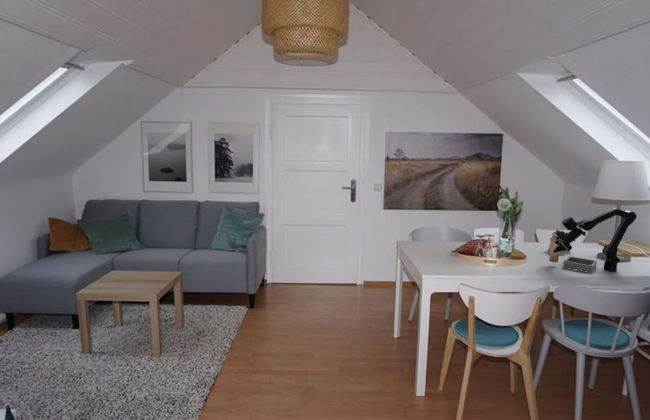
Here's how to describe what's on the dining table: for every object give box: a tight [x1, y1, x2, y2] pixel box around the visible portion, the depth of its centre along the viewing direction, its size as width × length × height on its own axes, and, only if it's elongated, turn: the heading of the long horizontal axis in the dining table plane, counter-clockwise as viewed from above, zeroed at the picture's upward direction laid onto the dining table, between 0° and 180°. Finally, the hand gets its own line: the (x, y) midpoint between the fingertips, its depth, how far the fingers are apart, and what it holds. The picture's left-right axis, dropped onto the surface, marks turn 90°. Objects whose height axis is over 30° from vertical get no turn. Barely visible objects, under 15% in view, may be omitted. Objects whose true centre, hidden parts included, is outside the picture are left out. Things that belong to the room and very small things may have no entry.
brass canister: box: [548, 244, 560, 263], centre depth 299 cm, size 5×5×11 cm
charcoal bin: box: [562, 255, 598, 273], centre depth 297 cm, size 16×16×4 cm
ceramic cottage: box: [547, 231, 572, 256], centre depth 333 cm, size 16×16×15 cm
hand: (552, 251), depth 299 cm, fingers closed on brass canister, 5 cm apart
